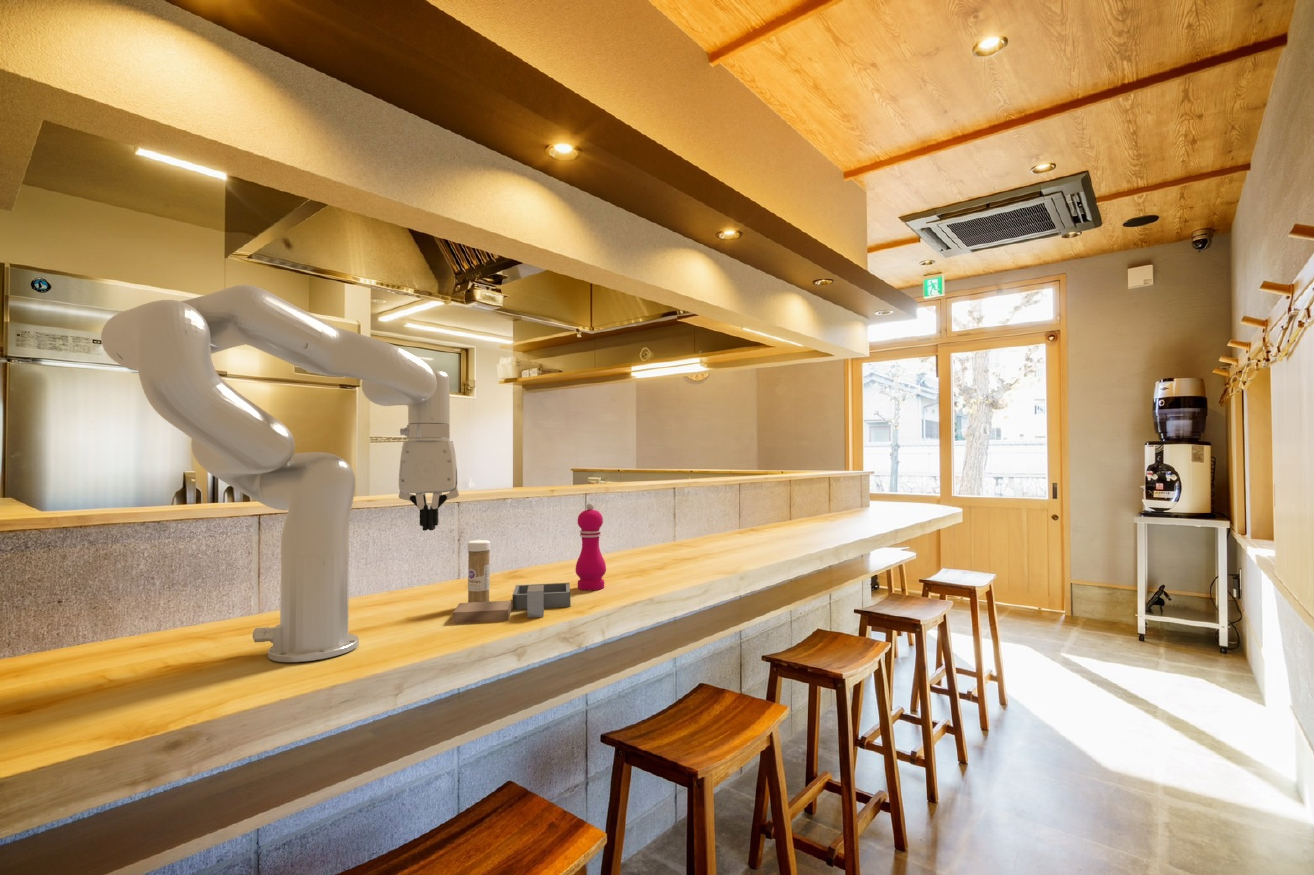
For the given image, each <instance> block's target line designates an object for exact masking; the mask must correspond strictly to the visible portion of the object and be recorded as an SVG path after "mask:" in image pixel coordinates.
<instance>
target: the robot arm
mask: <svg viewBox="0 0 1314 875" xmlns="http://www.w3.org/2000/svg"><path fill="white" fill-rule="evenodd" d="M100 340H101V346H102V348H103V350H104V352H105V353H106V354H107V356H109V358H110V359H111V360H112V361H113V362H115V363H117V364H119V365H120V366H122V367H124V368H127V369H130V370H133V371H137V372H138V378H139V380H140V384H141V387H142V390H143V393H144V395H145V398H146V399H147V401H148V402H149V404H150V405H151V407H152V409H153V410H155V412H156V413H157V414H158V415H159V416H160V417H161V418H163V419H164V420H165V421H166V422H168V423H169V424H171V425H172V426H173V427H175V428H176V429H178V430H180V431H181V432H182V433H183V434H185V435H187V437H189V438H190V439H191V442H190V444H191V445H190V446H191V451H192V454H193V457H194V458H195V460H196V462H197V463H198V464H199V466H201V467H202V469H204V470H205V471H206V472H208V473H209V474H210V475H211V476H213V477H215V478H217V479H218V480H220V481H222V482H223V483H225V484H227V485H229V486H230V487H232V488H234V489H236V490H237V491H239V492H241V493H242V494H243V495H245V496H247V497H249V498H251V499H252V500H254V501H257V502H258V503H260V504H262V505H264V506H267V507H268V508H271V509H274V510H278V511H287V515H286V518H285V521H284V525H283V527H282V531H281V538H280V614H279V615H280V620H279V623H278V624H277V625H276V626H273V627H269V626H265V627H261V626H260V627H255V628H254V629H253V632H252V639H253V642H254V643H265V642H270V643H271V644H272V646H271V647H270V648H268V650H267V658H268V659H269V660H271V661H274V662H279V663H303V662H312V661H318V660H319V661H320V660H324V659H330V658H333V657H338V656H339V655H344V654H347V653H348V652H351V651H353V650H354V649H356V648H357V647H358V646H359V645H360V638H359V636H358V635H356V634H354V633H349V594H350V591H349V589H350V588H349V585H350V584H349V581H350V580H349V578H350V576H349V573H350V568H349V566H350V565H349V564H350V560H349V558H350V556H349V555H350V550H349V548H350V539H349V538H350V520H351V512H352V508H353V504H354V498H355V494H356V476H355V475H356V474H355V472H354V470H353V468H352V467H351V465H350V463H348V462H347V460H345V459H344V458H342V457H340V456H339V455H336V454H333V453H329V452H324V451H322V452H321V451H314V452H313V451H311V452H308V451H307V452H299V453H298V452H297V453H296V452H295V450H296V442H295V438H294V436H293V434H292V432H291V431H290V429H289V428H288V427H287V426H286V425H285V424H283V422H281V421H280V420H279V419H277V418H275V416H273V415H272V414H269V413H268V412H267V411H266V410H265V409H262V408H261V407H259V405H258V404H257V405H256V404H255V403H254V402H253V401H251V400H250V399H248V398H247V397H246V396H244V395H243V394H241V393H239V392H238V391H237V390H235V389H234V388H233V386H231V385H229V384H228V383H227V382H226V381H225V380H224V379H222V377H221V376H220V375H219V373H218V372H217V370H216V368H215V366H214V363H213V360H212V355H213V354H216V353H218V352H222V351H225V350H228V349H232V348H236V347H240V346H245V345H247V346H250V347H252V348H255V349H258V350H259V351H261V352H264V353H266V354H268V355H270V356H273V357H275V358H278V359H279V360H282V361H284V362H286V363H289V364H291V365H292V366H295V367H297V368H300V369H301V370H305V371H307V372H308V373H312V374H315V375H316V374H317V375H321V376H326V377H334V378H335V377H336V378H349V379H357V380H361V390H362V393H363V394H364V396H365V397H366V398H367V400H369V401H370V402H372V403H373V404H374V405H379V406H381V407H383V406H384V407H393V406H407V409H408V410H407V425H406V427H404V428H403V427H402V428H400V430H399V435H400V436H404V437H406V438H407V440H405V441H403V442H402V446H401V453H400V460H399V461H400V462H399V469H398V470H399V472H398V489H399V493H398V498H399V499H400V500H405V501H409V502H411V503H412V504H413V505H415V506H416V507H417V509H418V510H419V526H420V527H422V531H424V532H425V531H428V530H429V531H435V530H436V526H439V508H440V507H441V506H442V505H443V504H444V503H445V502H446V501H448V500H452V499H455V498H458V497H459V496H460V495H459V494H460V493H459V490H458V468H457V467H458V466H457V457H456V456H457V455H456V450H455V445H454V441H453V440H451V439H450V438H451V437H450V434H451V433H450V428H451V426H450V424H451V423H450V422H451V421H450V418H451V417H450V412H451V411H450V408H451V406H450V403H451V402H450V397H451V396H450V377H449V374H448V373H447V372H445V371H444V370H438V369H432V368H431V367H430V365H429V364H427V363H426V362H425V361H424V360H422V359H421V358H419V357H417V356H416V355H414V354H413V353H410V352H409V351H407V350H405V349H403V348H401V347H399V346H396V345H394V344H392V343H389V342H387V341H384V340H381V339H377V338H375V337H371V336H367V335H363V334H361V333H357V332H354V331H351V330H347V329H344V328H339V327H337V326H335V325H333V324H331V323H329V322H326V320H323V319H322V318H319V317H317V316H315V315H313V314H311V313H309V312H308V311H306V310H304V309H303V308H300V307H298V306H296V305H294V304H292V302H289V301H287V300H286V299H283V298H281V297H280V296H278V295H276V294H274V293H272V292H270V291H268V290H266V289H263V288H261V287H258V286H255V285H251V284H240V285H234V286H230V287H227V288H224V289H221V290H217V291H214V292H211V293H208V294H205V295H201V296H197V297H193V298H190V299H186V300H181V301H180V300H174V299H162V300H161V299H160V300H155V301H150V302H147V303H143V304H141V305H138V306H136V307H133V308H130V309H127V310H124V311H121V312H119V313H117V314H114V315H113V316H112V317H111V318H109V319H108V320H107V321H106V322H105V324H104V325H103V328H102V330H101V334H100ZM443 493H445V494H443ZM426 494H432V497H431V498H432V499H431V505H430V506H428V503H427V496H426ZM429 507H430V508H429Z"/></svg>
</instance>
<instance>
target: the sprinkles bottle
mask: <svg viewBox="0 0 1314 875" xmlns="http://www.w3.org/2000/svg"><path fill="white" fill-rule="evenodd" d="M490 550H491V541H490V540H487V539H485V540H484V539H480V540H477V539H476V540H470V541H468V542H467V553H468V561H467V562H468V564H467V565H468V566H467V568H468V570H467V571H468V574H467V575H468V576H467V593H468V594H467V596H468V597H467V598H468V599H467V603H473V602H491V601H490V589H491V588H490V585H491V584H490V580H491V579H490V578H491V577H490V570H491V569H490Z"/></svg>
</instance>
